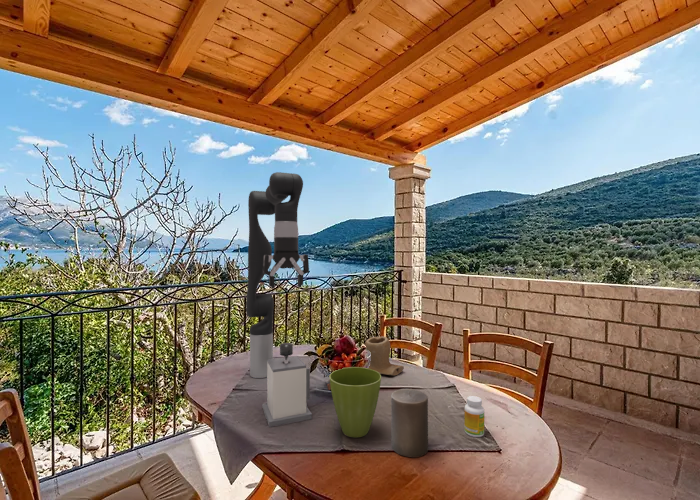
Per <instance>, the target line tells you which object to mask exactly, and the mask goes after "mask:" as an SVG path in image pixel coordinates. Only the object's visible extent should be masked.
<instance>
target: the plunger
mask: <svg viewBox="0 0 700 500" xmlns="http://www.w3.org/2000/svg"><path fill="white" fill-rule="evenodd" d="M293 347H294V345H293V343H292V342H282V343H280V344H279V355H280V356H284V357H283V358H284V364H286V363H288V357H290V356H292V355H293V353H294V351H293V350H294V348H293Z"/></svg>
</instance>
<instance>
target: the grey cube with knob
mask: <svg viewBox="0 0 700 500" xmlns="http://www.w3.org/2000/svg"><path fill="white" fill-rule="evenodd" d="M310 370H311V369H310V367H307V365H306V363H305V362H304V361H303V360H302V359H301V358H300V356H299V355H294V356H288V363H286V364H284V357H278V358H273V359H269V360H267V377H266V378H267V379H266V381H267V384H266V387H267V390H266V391H267V393H266V397H267V400H266V401H267V402H265V403H262V408H263V409H262V411H264V412H263V414H264V417H265V419H267V420H266V423H267V424H268V428H272V427H276V426H283V425H288V424H292V423H298V422H303V421H308V420H313V413H312V411H310V409H309V407H308V406H307V401H308V400H309V401H310V400H311V394H310V393H311V384H310V383H311V381H310V379H311V377H310V376H311V375H310V374H311V373H310Z"/></svg>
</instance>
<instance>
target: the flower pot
mask: <svg viewBox="0 0 700 500" xmlns="http://www.w3.org/2000/svg"><path fill="white" fill-rule="evenodd" d="M328 377H329V383H330V386H331V390H330V391H331V395H332V396H331V398H332V401H333V405H334V409H335V413H336V416H337V419H338V423H339V425H340V428H341V430H342V433H343V434H344V435H345V436H346V435H347V437H349V438H362V437H364V436H367V434H368V433H369V431H370V429H371V425H372V423H373V420H374V416H375V413H376V409H377V404H378V401H379V395H380V390H381V381H382V374H380V373H378V372H377V371H375V370H372V369H368V368H366V367H362V366H360V367H359V366H349V367H343V368H342V369H338V370H335V371H333V372H332V373H331V374H330V375H329V376H328Z"/></svg>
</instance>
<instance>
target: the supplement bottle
mask: <svg viewBox="0 0 700 500" xmlns="http://www.w3.org/2000/svg"><path fill="white" fill-rule="evenodd" d="M463 411H464V412H463V413H464V418H463V421H464V422H463V423H464V425H463V426H464V432H465V434H466V435H468V436H470V437H474V438H481V437H483V436H484V435H485V408H484V407H483V401H482V398H481V397H479V396H476V395H469V396H467V398H466V404H465V405H464V410H463Z"/></svg>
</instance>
